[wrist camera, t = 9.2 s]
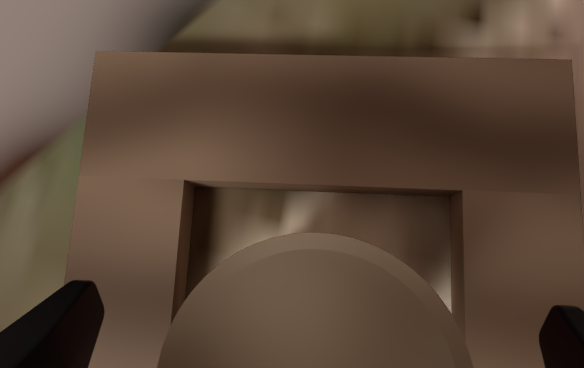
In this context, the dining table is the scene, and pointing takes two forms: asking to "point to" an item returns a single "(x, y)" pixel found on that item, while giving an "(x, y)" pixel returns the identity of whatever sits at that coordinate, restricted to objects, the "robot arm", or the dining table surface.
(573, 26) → the dining table surface
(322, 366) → the red and beige cylinder
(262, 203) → the dining table surface
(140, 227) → the brown flat piece
